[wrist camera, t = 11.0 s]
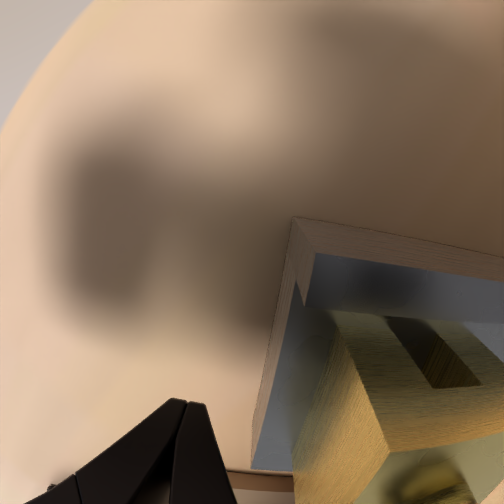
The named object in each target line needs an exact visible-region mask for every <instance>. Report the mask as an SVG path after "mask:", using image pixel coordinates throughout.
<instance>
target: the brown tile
mask: <svg viewBox="0 0 504 504" xmlns="http://www.w3.org/2000/svg"><path fill="white" fill-rule="evenodd" d="M227 475H228V477H229V480H230V483H231V486H232V489H233V492H234V494H235V497H236V500H237V503H238V504H295V494H294V481H293V477H281V476H265V475H253V474H243V473H234V472H227Z"/></svg>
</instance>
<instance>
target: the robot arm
mask: <svg viewBox="0 0 504 504" xmlns="http://www.w3.org/2000/svg"><path fill="white" fill-rule="evenodd" d="M75 475H76V476H75ZM75 475H74V474H72V475H71V476H69V477H68V478H67V479H65V480H64V481H62V482H61V483H59V484H58V485H56V486H55V487H52V486H49V487H48V489H47V492H45V493H44V494H42V495H40V496H38V497H36V498H34V499H32V500H30V501H28V502H26V503H24V504H168V503H169V504H238V503H237V500H236V497H235V494H234V492H233V489H232V486H231V483H230V480H229V477H228V475H227V472H226V469H225V466H224V463H223V460H222V457H221V454H220V450H219V447H218V444H217V441H216V438H215V435H214V431H213V428H212V425H211V421H210V418H209V415H208V411H207V408H206V405H205V404H203V403H198V402H193V401H190V402H187V401H186V400H182V399H177V398H170V399H169V400H167V401H166V402H165V403H164V404H163V405H161V406H160V407H159V408H158V409H157V410H155V411H154V412H153V413H152V414H150V415H149V416H148V417H147V418H145V419H144V420H143V421H142V422H141V423H139V424H138V425H137V426H135V427H134V428H133V429H132V430H130V431H129V432H128V433H127V434H125V435H124V436H123V437H122V438H120V439H119V440H118V441H116V442H115V443H114V444H113V445H111V446H110V447H109V448H107V449H106V450H105V451H103V452H102V453H101V454H99V455H98V456H97V457H95V458H94V459H93V460H91V461H90V462H89V463H87V464H86V465H85V466H83V467H82V468H81V469H79V470H78V471H76V472H75Z"/></svg>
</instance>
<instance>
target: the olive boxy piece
mask: <svg viewBox="0 0 504 504" xmlns="http://www.w3.org/2000/svg"><path fill="white" fill-rule="evenodd" d="M291 456H292V468H293V481H294V494H295V504H480V503H481V502H482V501H483V500H484V499H485V498H486V497H487V496H488V495H489V494H490V493H491V492H492V491H493V490H494V489H495V488H496V486H497V485H498V484H499V483H500V482H501V481H502V480H503V479H504V363H503V362H502V361H501V360H500V359H499V358H498V357H497V356H496V355H495V354H494V353H493V352H492V351H491V350H490V349H489V348H487V347H486V346H485V345H484V344H483V343H482V342H481V341H480V340H479V339H478V338H477V337H476V336H475V335H473V334H450V333H436V336H435V339H434V341H433V343H432V346H431V348H430V351H429V353H428V355H427V358H426V360H425V362H424V364H423V367H422V369H421V371H420V369H419V368H418V366H417V365H416V364H415V362H414V361H413V359H412V358H411V356H410V355H409V354H408V352H407V351H406V349H405V348H404V347H403V345H402V344H401V342H400V341H399V340H398V338H397V337H396V335H395V334H394V333H393V331H392V330H389V329H377V328H366V327H356V326H346V325H336V329H335V332H334V336H333V339H332V342H331V346H330V349H329V352H328V355H327V358H326V362H325V365H324V368H323V371H322V374H321V377H320V380H319V383H318V386H317V389H316V392H315V394H314V397H313V400H312V403H311V406H310V409H309V411H308V414H307V417H306V419H305V422H304V425H303V427H302V430H301V433H300V435H299V438H298V440H297V443H296V445H295V448H294V450H293V453H292V455H291Z"/></svg>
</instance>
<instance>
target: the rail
mask: <svg viewBox="0 0 504 504" xmlns="http://www.w3.org/2000/svg"><path fill="white" fill-rule="evenodd" d="M336 325H346V326H356V327H366V328H377V329H389V330H392V331H393V333H394V334H395V335H396V337H397V338H398V340H399V341H400V342H401V344H402V345H403V347H404V348H405V349H406V351H407V352H408V354H409V355H410V356H411V358H412V359H413V361H414V362H415V364H416V365H417V366H418V368H419V369H420V371H421V369H422V367H423V364H424V362H425V360H426V358H427V355H428V353H429V351H430V348H431V346H432V343H433V341H434V339H435V336H436V333H450V334H473V335H475V336H476V337H477V338H478V339H479V340H480V341H481V342H482V343H483V344H484V345H485V346H486V347H487V348H489V349H490V350H491V351H492V352H493V353H494V354H495V355H496V356H497V357H498V358H499V359H500V360H501V361H502V362H503V363H504V258H501V257H497V256H493V255H489V254H484V253H480V252H476V251H471V250H467V249H462V248H458V247H453V246H448V245H444V244H439V243H434V242H429V241H425V240H420V239H415V238H410V237H405V236H400V235H395V234H389V233H384V232H379V231H374V230H368V229H363V228H357V227H352V226H346V225H340V224H335V223H329V222H323V221H317V220H311V219H305V218H299V217H293V219H292V225H291V230H290V236H289V242H288V248H287V253H286V259H285V264H284V270H283V275H282V281H281V286H280V291H279V296H278V302H277V307H276V312H275V317H274V322H273V327H272V332H271V337H270V342H269V347H268V352H267V357H266V362H265V366H264V371H263V376H262V381H261V385H260V390H259V394H258V399H257V404H256V408H255V413H254V417H253V424H252V449H251V469H258V470H272V471H291V472H293V468H292V456H291V455H292V453H293V450H294V448H295V445H296V443H297V440H298V438H299V435H300V433H301V430H302V427H303V425H304V422H305V419H306V417H307V414H308V411H309V409H310V406H311V403H312V400H313V397H314V394H315V392H316V389H317V386H318V383H319V380H320V377H321V374H322V371H323V368H324V365H325V362H326V358H327V355H328V352H329V349H330V346H331V342H332V339H333V336H334V332H335V329H336Z"/></svg>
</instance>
